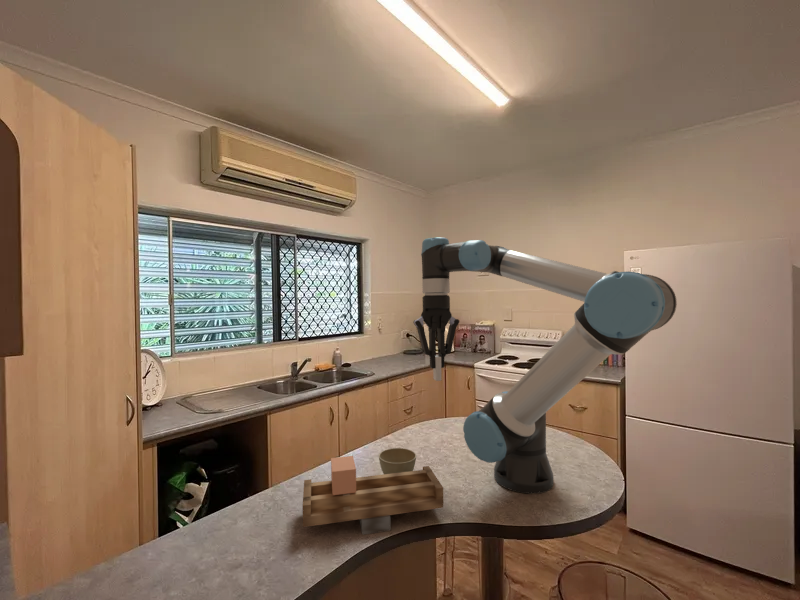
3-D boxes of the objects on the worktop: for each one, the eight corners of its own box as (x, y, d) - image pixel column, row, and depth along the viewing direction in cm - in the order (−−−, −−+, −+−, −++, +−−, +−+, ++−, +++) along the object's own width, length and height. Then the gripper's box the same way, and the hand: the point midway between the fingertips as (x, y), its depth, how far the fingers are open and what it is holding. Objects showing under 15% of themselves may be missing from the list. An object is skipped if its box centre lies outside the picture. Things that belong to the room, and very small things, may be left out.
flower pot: (413, 492, 96) (412, 464, 96) (374, 489, 98) (374, 461, 98) (419, 474, 106) (418, 448, 106) (384, 471, 108) (383, 446, 108)
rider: (353, 487, 88) (352, 455, 88) (356, 503, 81) (355, 469, 81) (331, 490, 87) (331, 458, 87) (332, 506, 80) (332, 471, 80)
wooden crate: (428, 494, 95) (428, 464, 95) (444, 522, 83) (444, 488, 83) (304, 510, 88) (304, 478, 88) (303, 543, 77) (302, 506, 77)
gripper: (453, 294, 110) (454, 375, 110) (409, 295, 107) (411, 378, 107) (463, 294, 103) (464, 381, 103) (416, 294, 100) (418, 384, 100)
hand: (437, 379), depth 105 cm, fingers closed
